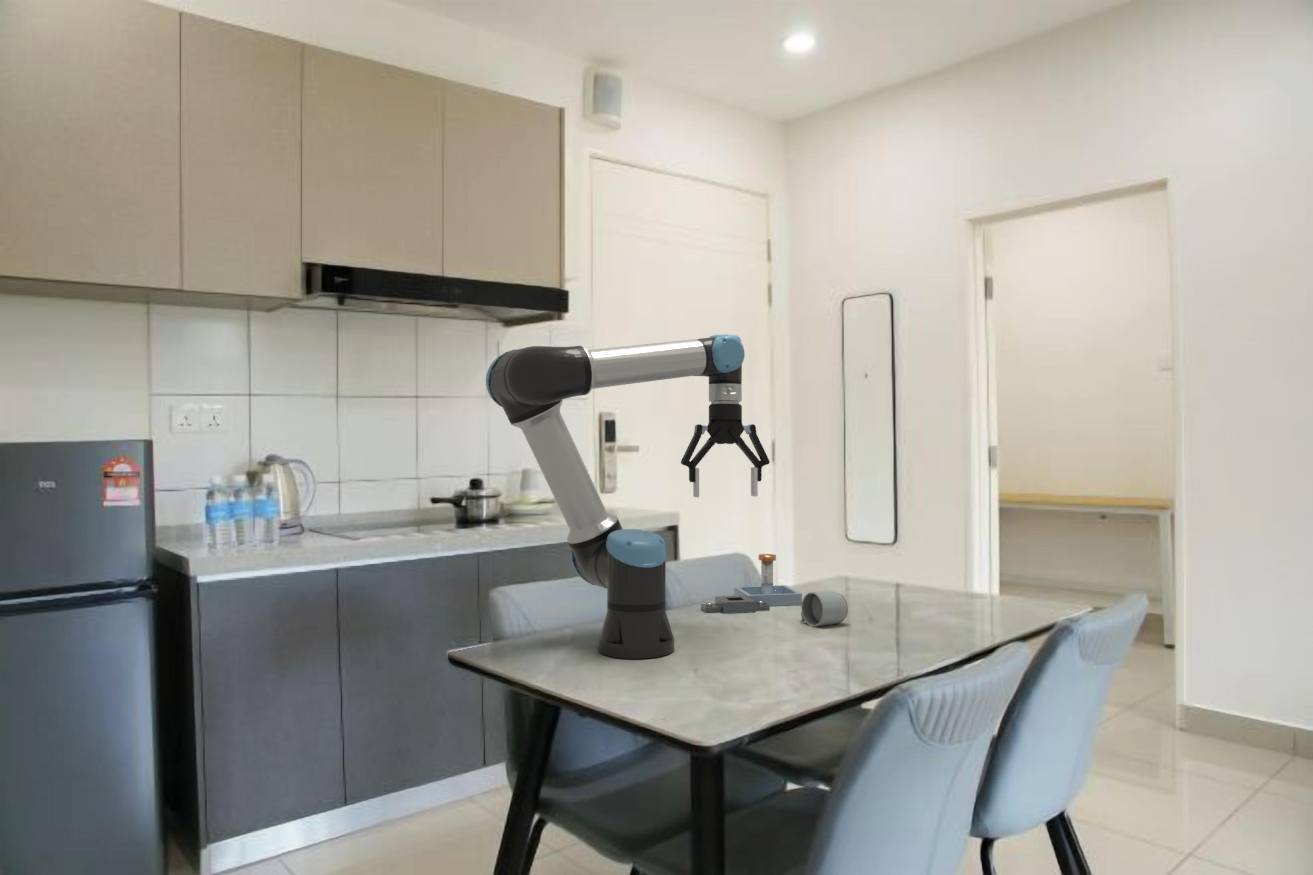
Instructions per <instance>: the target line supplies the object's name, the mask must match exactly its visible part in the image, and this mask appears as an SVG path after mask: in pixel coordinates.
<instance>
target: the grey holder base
mask: <svg viewBox="0 0 1313 875" xmlns="http://www.w3.org/2000/svg"><path fill="white" fill-rule="evenodd" d="M714 601H715V602H714V603H712V602H706V603H700V610H702V611H703V613H723V614H741V613H742V614H743V613H745V614H747V613H756V612H758V611H759V612H763V611H764V612H765V611H770V607H771V606H770V605H768V604H767V603H765V602H764V601H757V602H755V601H754V600H753V599H751V598H749V597H748V596H746V595H745V596H734V595H725V596H724V595H719V596H715V598H714Z"/></svg>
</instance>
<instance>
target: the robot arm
mask: <svg viewBox="0 0 1313 875" xmlns="http://www.w3.org/2000/svg"><path fill="white" fill-rule="evenodd" d="M745 354H746V353H745V348H744V345H743V343H742V339H741V337H740V336H739V335H737V334H724V333H723V334H712V335H710V336H709V337H703V338H702V337H701V338H697V339H696V338H695V339H694V338H693V339H683V340H674V341H666V342H665V341H664V342H653V343H644V344H635V345H626V346H624V345H623V346H617V347H616V346H615V347H614V346H613V347H607V348H606V347H605V348H596V349H587V348H586V347H585V346H583V345H575V346H573V345H572V346H545V345H543V346H542V345H532V346H527V347H523V348H518V349H516V348H515V349H511V350H508V351H505V352H504V353H502V354H500V355H499V356H498V357H496V358H495V359H494V360H493V361H492V362H491V363H490V365H489V367H488V370H487V372H486V376H485V386H486V390H487V393H488V395H489V397H490V398H491V400H492V401H493V402H494V403H496V404H497V405H498V406H500V407H502V409H503V411H504V413H505V415H506V417H507V419H508V422H509V424H510V425H511V426H513V427H516V428H519V429H520V430H521V431H522V434H523V435H524V438H525V439H526V441H527V443H528V445H529V447H530V449H531V452H532V453H533V456H534V458H535V460H536V462H537V464H538V466H539V468H540V470H541V471H540V472H541V473H542V475H543V476H544V479H545V481H546V483H547V485H548V487H549V489H550V491H551V494H552V495H553V498H554V500H555V502H556V504H557V506H558V508H559V509H560V512H561V514H562V517H563V518H564V521H565V523H566V524H567V526H568V528H569V533H568V534H567V537H566V541H567V544H568V545H569V547H570V549H571V551H570V561H571V565H572V568H573V570H574V571H575V573H576V574H577V575H578V577H580V578H581V579H582V580H584V581H585V582H587V583H588V584H589V585H592V586H597V587H600V588H602V589H603V588H604V589H606V591H607V593H606V597H607V598H606V601H607V602H606V603H607V604H606V605H607V606H606V608H607V609H606V615H605V617H604V621H603V624H602V627H601V631H600V633H599V637H598V652H599V653H600V654H602V655H605V656H607V657H613V658H619V659H634V660H635V659H636V660H637V659H652V658H659V657H664V656H667V655H670V654H671V653H673V652H674V651H675V637H674V633H673V630H672V627H671V624H670V620H669V618H668V615H667V611H666V585H667V584H666V580H667V579H666V577H667V576H666V573H667V572H666V571H667V570H666V567H667V566H666V565H667V564H666V562H667V561H666V560H667V551H666V542H665V540H664V538H663V537H662V536H661V535H660V534H658V533H656V532H653V531H649V530H642V529H635V528H634V529H632V528H629V529H628V528H626V529H624V528H623V526H622V524H621V522H620V520H619V517H618V516H617V515H616V514H613V513H610V512H608V511H607V510H606V507H605V505H604V503H603V501H602V499H601V496H600V495H599V492H598V490H597V489H596V487H595V484H594V482H593V480H592V477H591V475H590V474H589V471H588V469H587V467H586V464H585V462H584V460H583V458H582V456H581V454H580V452H579V449H578V447H577V446H576V443H575V441H574V440H573V437H572V435H571V433H570V430H569V429H568V426H567V424H566V421H565V420H564V418H563V416H562V414H561V407H562V405H563V402H564V400H565V399H566V400H567V399H569V398H573V397H580V396H586V395H589V394H590V393H591V391H592V390H593V389H601V388H608V387H609V388H610V387H617V386H625V385H633V384H640V383H647V382H656V381H663V380H671V379H679V378H686V377H708V401H709V402H710V404H709V405H708V424H707V425H703V424H700V423H697V424H695V425H694V433H693V435H692V438H691V439H690V442H689V443H688V446H687V448H686V451H685V452H684V455H683V456H682V459H681V460H680V464H681V465H682V466H685V467H687V468H688V481H689V482H690V483H693V484H692V486H693V488H692V491H693V492H692V493H693V495H692V497H694V498H699V497H700V468H699V467H697V466H698V465H699V463H700V462H701V461H702V460H703V459H704V457H705V456H707V453H708V452H709V451H710V450H711V448H712V447H714V446H715V444H717V445H733V444H734V445H736V446H737V447H738V448H739V449H740V450H741V452H742V453H743V455H745V457H746V458H747V459H748V460H749V461H750V462H751V464H752V465H753V466H754V467H753V466H752V467H750V496H751V497H758V493H759V492H758V490H759V489H758V482H761V481H762V477H763V476H762V473H763V472H762V471H763V470H762V469H763V467H764V466H767V465H770V462H771V461H770V459H769V457H768V454H767V452H766V450H765V449H764V446H763V445H762V442H761V441H760V438H759V437H758V434H757V427H756V424H754V423H751V424H748V425H743V405H742V404H740V402H741V401H742V400H743V398H742V396H743V394H742V392H743V390H742V389H743V388H742V386H743V385H742V383H743V382H742V381H743V380H742V379H743V378H742V377H743V375H742V374H743V370H742V368H743V367H742V366H743V362H744V360H745ZM706 431H707V433H708V435H709V436H710V437H709V438H708V439H707V440H706V442H705V443H704V444H703V446H702V447H701V448H700V449H699V451H697V452H696V455H695V456H694V457H693V458H692V456H693V454H694V452H695V450H696V448H697V445H698V444H699V443H700V442H699V441H700V439H701V438H702V435H704V434H705V432H706ZM743 432H745V434H747V435H748V437H749V439H750V441H751V443H752V445H753V448H754V450H755V451H756V453H757V455H755V454H754V452H753V451H752V450H751V448H750V447H749V446H748V445H747V444H746V442H745V440H743V438H742V437H741V435H742V434H743ZM757 456H758V457H757ZM691 458H692V459H691Z"/></svg>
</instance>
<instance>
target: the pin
mask: <svg viewBox="0 0 1313 875" xmlns="http://www.w3.org/2000/svg"><path fill="white" fill-rule="evenodd" d="M776 560H777V556H776V554H773V553H760V554H758V561H761V562H760V564H761V565H760V566H761V567H760V568H761V570H760V571H761V572H760V573H761V575H760V576H761V577H760V578H761V580H760V581H761V585H760V586H761V595H762V594H773V586H774V561H776Z"/></svg>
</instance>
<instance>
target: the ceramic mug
mask: <svg viewBox="0 0 1313 875" xmlns="http://www.w3.org/2000/svg"><path fill="white" fill-rule="evenodd" d="M848 611H849V608H848V602H847V599H846V598H845V596H844V595H843V594H841V593H839V592H837V591H810V592H807V593H806V594H805V595H804V597H802V605H801V612H800V616H801V619H802V620H804V621H805V623H806V624H807V625H808V626H810V627H815V628H816V627H824V626H831V625H832V626H833V625H836V624H839V623H840V624H841V623H842V622H843V621H844V620H846V618H847V616H848V613H849V612H848Z"/></svg>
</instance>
